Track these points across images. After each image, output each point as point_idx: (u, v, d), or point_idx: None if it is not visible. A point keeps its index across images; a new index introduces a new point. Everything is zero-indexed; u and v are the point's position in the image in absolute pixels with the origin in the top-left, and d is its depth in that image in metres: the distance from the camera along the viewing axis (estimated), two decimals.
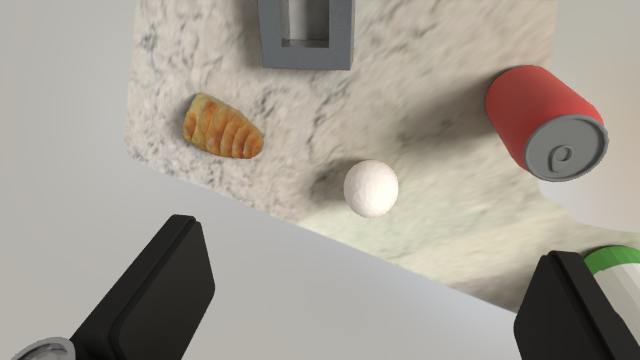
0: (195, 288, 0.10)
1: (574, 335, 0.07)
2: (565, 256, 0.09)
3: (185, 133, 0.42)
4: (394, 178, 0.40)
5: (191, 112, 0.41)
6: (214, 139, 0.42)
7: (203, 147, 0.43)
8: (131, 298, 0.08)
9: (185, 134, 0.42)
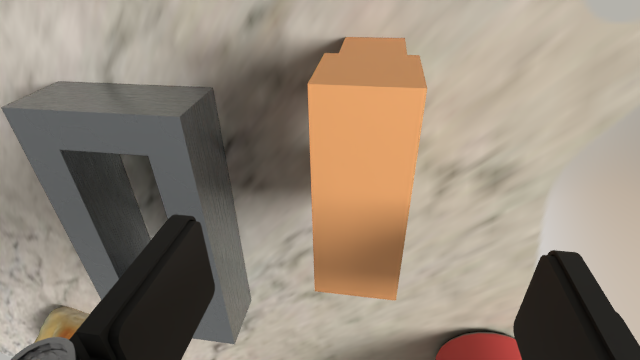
0: (195, 288, 0.10)
1: (574, 335, 0.07)
2: (565, 256, 0.09)
3: None
4: None
5: None
6: None
7: None
8: (131, 298, 0.08)
9: None
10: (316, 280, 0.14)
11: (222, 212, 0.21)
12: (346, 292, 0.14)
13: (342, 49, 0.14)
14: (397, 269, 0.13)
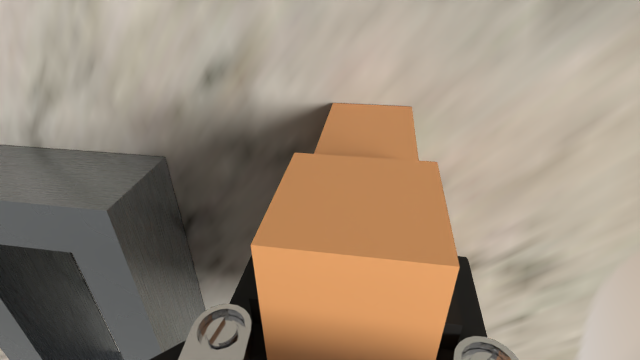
0: None
1: None
2: None
3: None
4: None
5: None
6: None
7: None
8: None
9: None
10: None
11: (180, 304, 0.16)
12: None
13: (326, 128, 0.10)
14: None
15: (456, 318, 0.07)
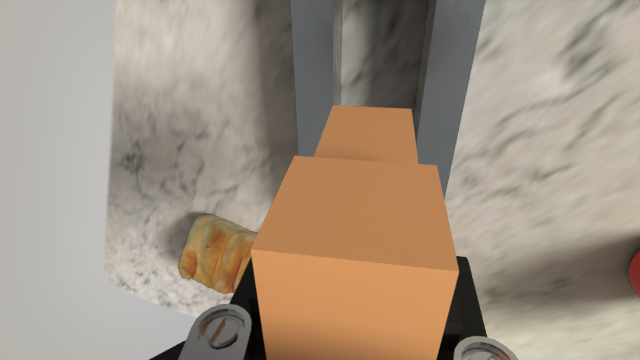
0: None
1: None
2: None
3: (183, 273, 0.29)
4: None
5: (189, 249, 0.28)
6: (224, 282, 0.29)
7: (210, 287, 0.30)
8: None
9: (183, 274, 0.30)
10: None
11: None
12: None
13: (326, 131, 0.10)
14: None
15: (456, 318, 0.07)
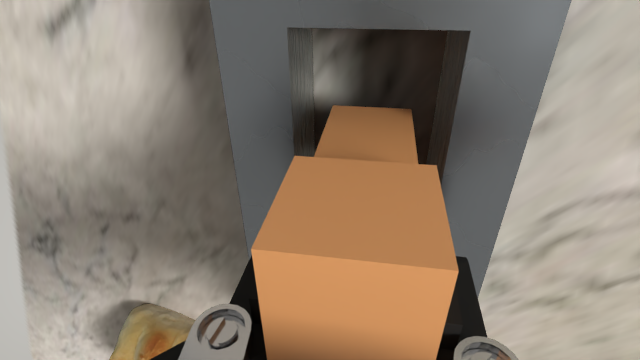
0: None
1: None
2: None
3: None
4: None
5: (118, 359, 0.21)
6: None
7: None
8: None
9: None
10: None
11: None
12: None
13: (326, 131, 0.10)
14: None
15: (456, 317, 0.07)
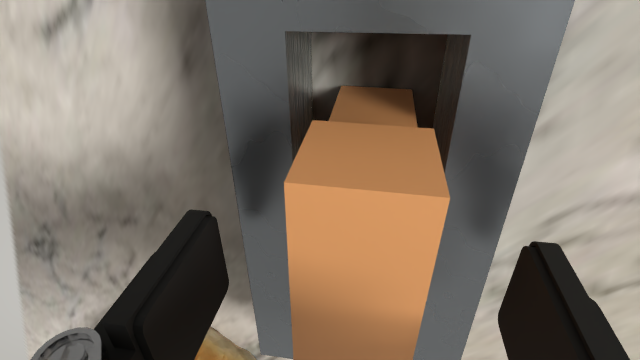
0: (211, 282, 0.11)
1: (550, 321, 0.08)
2: (545, 247, 0.09)
3: None
4: None
5: None
6: None
7: None
8: (153, 290, 0.08)
9: None
10: None
11: None
12: None
13: (336, 105, 0.12)
14: None
15: None
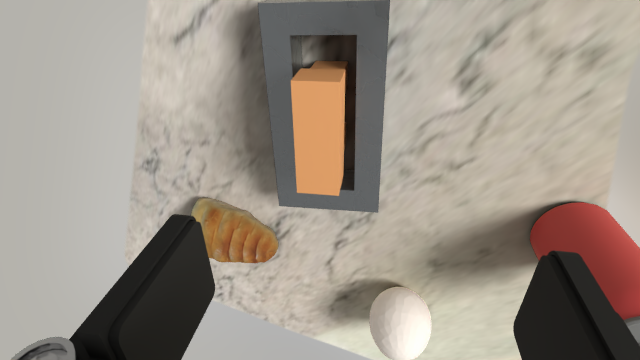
0: (195, 288, 0.10)
1: (574, 335, 0.07)
2: (565, 256, 0.09)
3: None
4: (427, 315, 0.36)
5: None
6: (221, 249, 0.36)
7: (211, 257, 0.38)
8: (131, 298, 0.08)
9: None
10: (297, 185, 0.26)
11: None
12: (313, 192, 0.26)
13: (312, 67, 0.27)
14: (337, 175, 0.25)
15: None
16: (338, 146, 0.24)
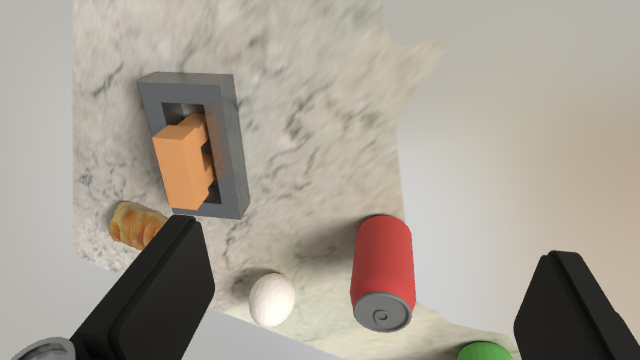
0: (195, 288, 0.10)
1: (574, 335, 0.07)
2: (565, 256, 0.09)
3: (113, 237, 0.49)
4: (288, 294, 0.48)
5: (113, 221, 0.48)
6: (136, 240, 0.49)
7: (131, 246, 0.50)
8: (131, 298, 0.08)
9: (113, 238, 0.49)
10: (169, 202, 0.38)
11: (235, 139, 0.40)
12: (180, 207, 0.39)
13: (183, 120, 0.39)
14: (193, 197, 0.38)
15: None
16: (189, 178, 0.36)
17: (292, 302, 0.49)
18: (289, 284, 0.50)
